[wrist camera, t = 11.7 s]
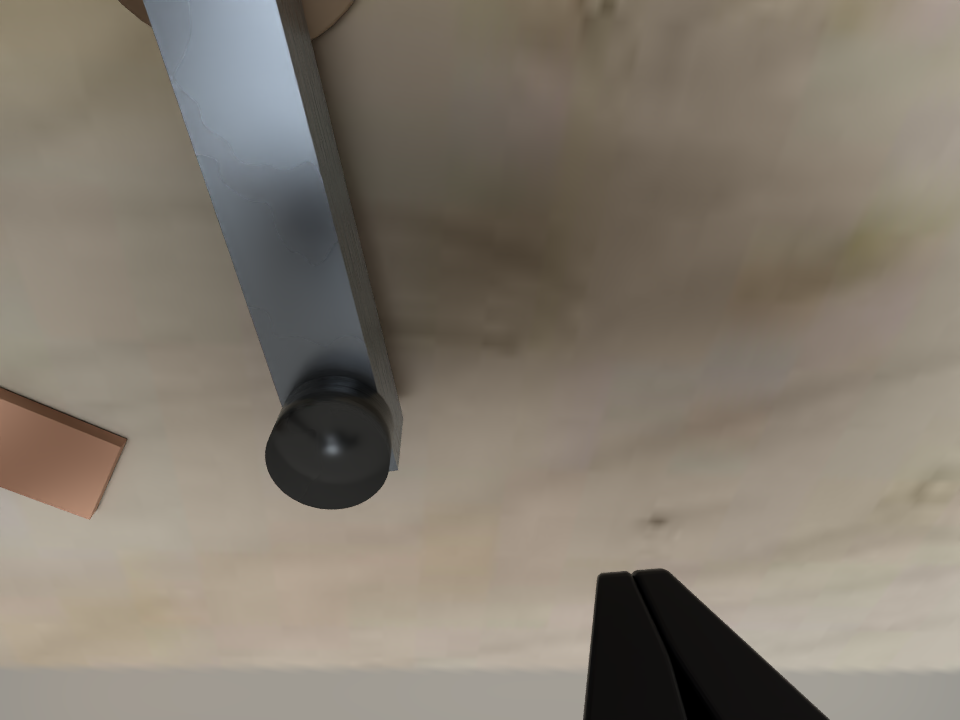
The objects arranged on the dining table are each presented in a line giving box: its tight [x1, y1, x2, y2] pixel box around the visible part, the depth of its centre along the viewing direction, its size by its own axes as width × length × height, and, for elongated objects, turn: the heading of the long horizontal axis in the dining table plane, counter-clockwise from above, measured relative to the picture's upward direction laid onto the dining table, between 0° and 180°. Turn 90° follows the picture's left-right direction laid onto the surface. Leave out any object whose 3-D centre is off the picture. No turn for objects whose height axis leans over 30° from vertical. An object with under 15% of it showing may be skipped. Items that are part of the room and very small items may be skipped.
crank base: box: [0, 0, 354, 519], centre depth 15 cm, size 6×20×1 cm, turn 149°
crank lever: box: [143, 0, 403, 509], centre depth 13 cm, size 14×4×4 cm, turn 9°
